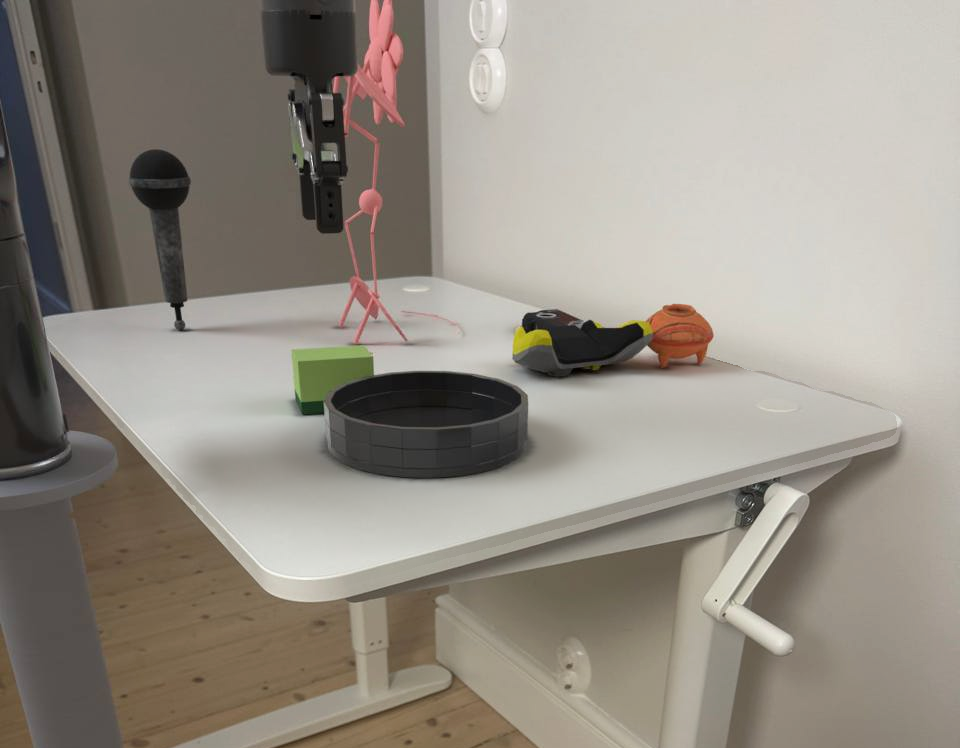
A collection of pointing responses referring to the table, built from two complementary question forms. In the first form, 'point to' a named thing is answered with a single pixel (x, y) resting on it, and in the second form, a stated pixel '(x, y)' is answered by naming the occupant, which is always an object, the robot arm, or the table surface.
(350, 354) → the sponge
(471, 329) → the table surface
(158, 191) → the microphone
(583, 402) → the table surface
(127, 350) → the table surface
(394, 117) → the figurine
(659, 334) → the pot
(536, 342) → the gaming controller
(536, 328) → the camera
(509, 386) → the pan
